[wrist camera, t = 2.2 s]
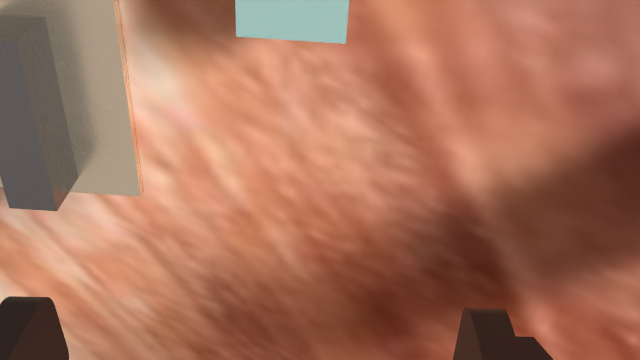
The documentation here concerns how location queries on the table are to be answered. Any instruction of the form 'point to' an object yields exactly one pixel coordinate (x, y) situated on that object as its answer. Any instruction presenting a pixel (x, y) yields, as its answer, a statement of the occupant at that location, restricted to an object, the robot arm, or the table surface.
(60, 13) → the rail
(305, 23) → the pale aqua block
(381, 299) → the table surface
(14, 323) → the robot arm
